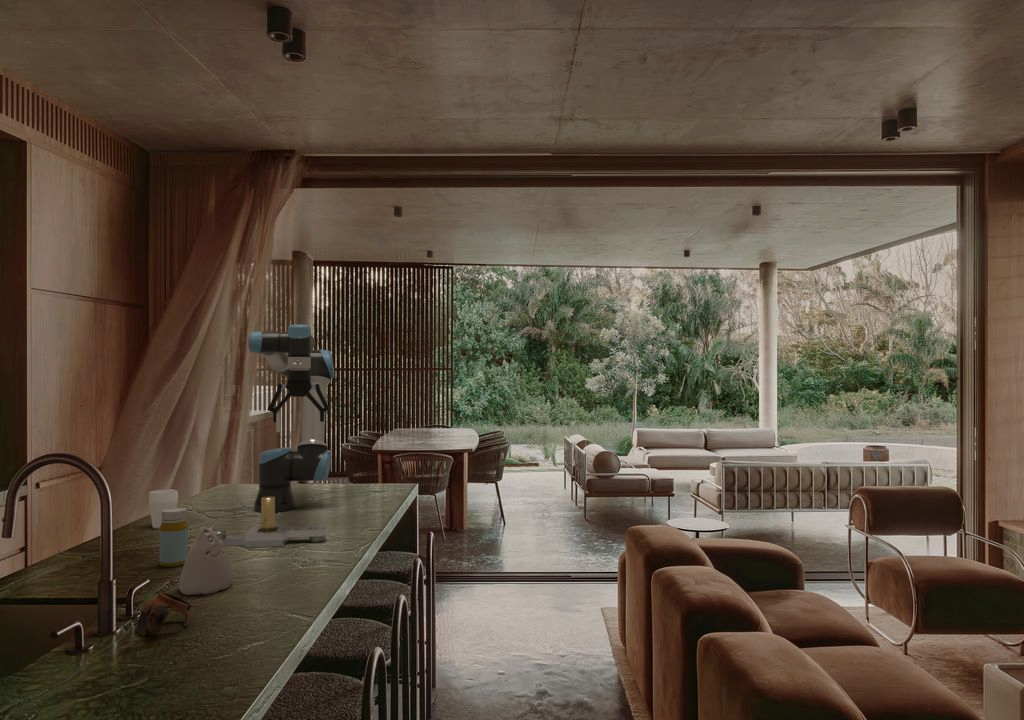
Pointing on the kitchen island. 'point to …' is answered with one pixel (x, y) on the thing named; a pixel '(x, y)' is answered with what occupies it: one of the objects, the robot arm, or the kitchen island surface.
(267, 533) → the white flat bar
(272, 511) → the pin
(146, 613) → the brown curved piece
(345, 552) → the kitchen island surface
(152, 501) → the cup
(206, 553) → the sculpture
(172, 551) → the bottle
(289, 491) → the robot arm
